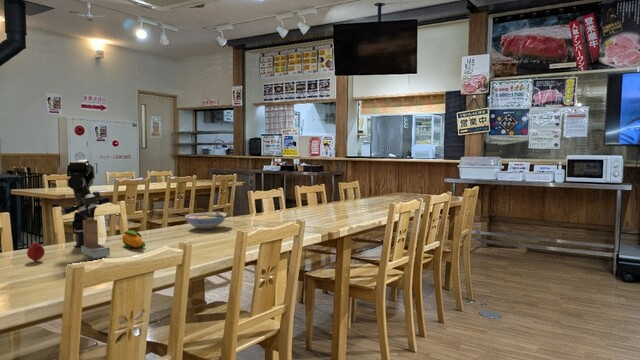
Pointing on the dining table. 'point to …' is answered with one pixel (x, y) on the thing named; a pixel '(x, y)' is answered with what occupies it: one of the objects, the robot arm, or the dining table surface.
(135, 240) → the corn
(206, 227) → the ramen bowl
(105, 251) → the grey piece
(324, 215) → the dining table surface
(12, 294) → the dining table surface
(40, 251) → the red oval piece
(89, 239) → the brown rectangular block
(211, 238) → the dining table surface
